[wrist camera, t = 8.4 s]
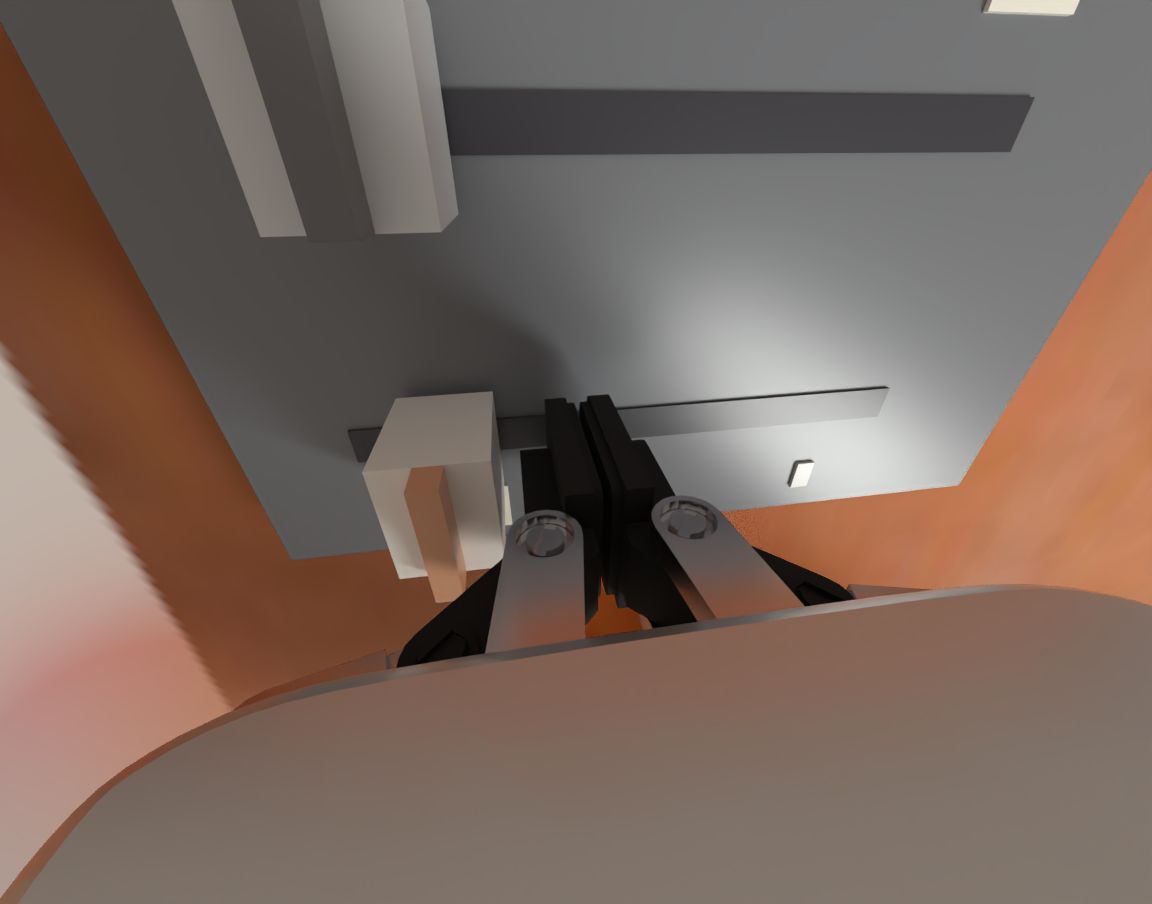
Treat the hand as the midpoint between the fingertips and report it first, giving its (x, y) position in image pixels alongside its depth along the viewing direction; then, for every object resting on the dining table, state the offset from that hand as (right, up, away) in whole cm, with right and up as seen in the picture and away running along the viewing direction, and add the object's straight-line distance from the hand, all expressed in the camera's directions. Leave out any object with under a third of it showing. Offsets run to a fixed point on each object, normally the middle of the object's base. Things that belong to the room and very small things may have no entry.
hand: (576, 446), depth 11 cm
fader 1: (-4, +6, -4) cm, 8 cm away
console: (+2, +5, +1) cm, 6 cm away
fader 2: (-3, 0, 0) cm, 3 cm away
